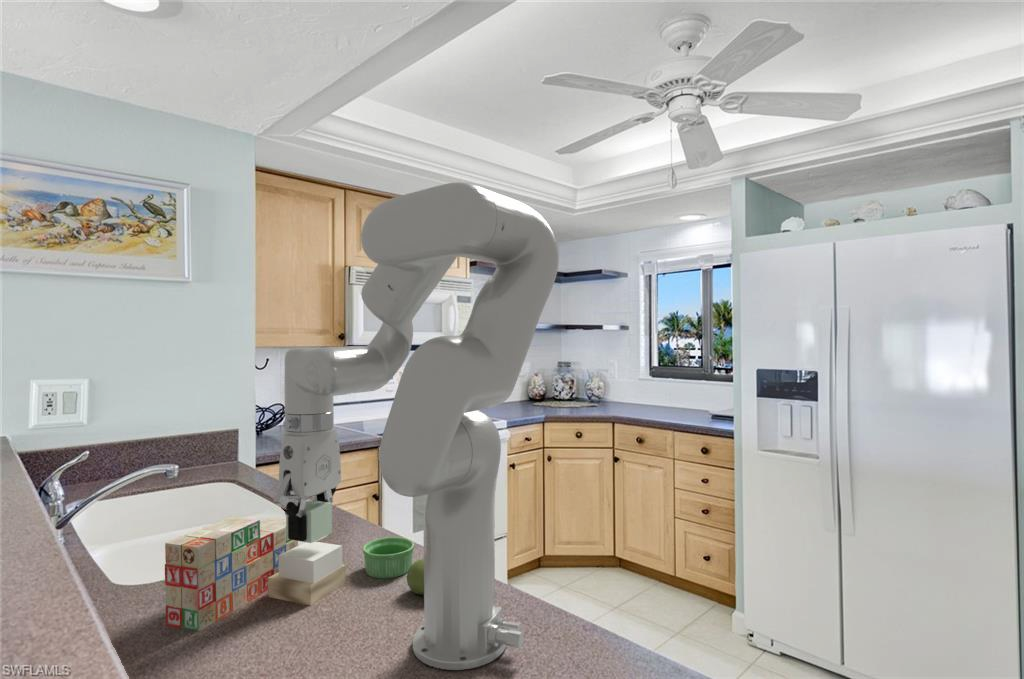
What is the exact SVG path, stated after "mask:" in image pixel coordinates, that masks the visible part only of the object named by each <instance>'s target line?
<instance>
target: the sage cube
mask: <svg viewBox="0 0 1024 679" xmlns="http://www.w3.org/2000/svg"><path fill="white" fill-rule="evenodd" d="M295 505H296V506H297V505H298V503H297V504H296V503H295ZM303 515H306V519H307V539H306V540H305V541H300V543H301V542H302V543H305V542H307V543H313V542H318V540H320V539H322V538H325V537H326V536H328V535H330V534H332V533H333V502H332V503H330V502H322V501H315V499H313V500H312V499H306V504H305V509H304V514H303ZM285 517H286V518H285V520H286V539H289V538H288V515H285ZM289 540H290V539H289ZM295 541H296V540H295Z"/></svg>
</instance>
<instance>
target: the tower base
mask: <svg viewBox="0 0 1024 679" xmlns="http://www.w3.org/2000/svg"><path fill="white" fill-rule="evenodd" d="M346 579H347V576H346V564H343V563H342V567H341V568H339V569H337V570H336V571H334V572H332V573H331V574H329V575H327V576H326V577H324V578H322V579H321V580H319V581H317V582H316V583H314V584H313V583H308V582H302V581H297V580H292V579H286V578H281V577H279V572H278V573H276V574H274V575H272V576H270V577H269V578H268V590H267V592H268V594H267V596H268V598H271V599H277V600H280V601H286V602H291V603H296V604H301V605H306V606H313V605H314V604H316V603H317V602H318V601H320V600H322V599H324V598H325V597H326V596H328V595H330V594H331V593H333V592H334V591H336V590H338V589H339V588H340V587H342V586H344V585H345V584H346V583H347V582H346Z"/></svg>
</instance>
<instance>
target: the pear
mask: <svg viewBox="0 0 1024 679" xmlns="http://www.w3.org/2000/svg"><path fill="white" fill-rule="evenodd" d="M406 582H407V586H408V588H409V589H410V590H411V591H412V592H413V593H414V594H416V595H420V596H421V595H423V596H424V558H421V559H418V560H416V561H414V562H412V565H411V567H410V568H409V570H408V572H407V573H406Z"/></svg>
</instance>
